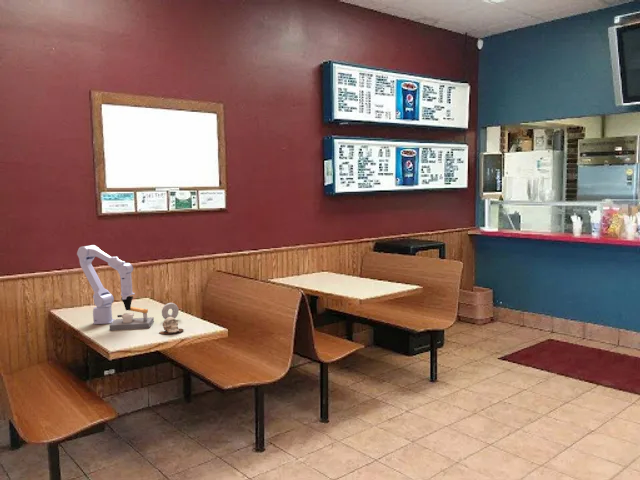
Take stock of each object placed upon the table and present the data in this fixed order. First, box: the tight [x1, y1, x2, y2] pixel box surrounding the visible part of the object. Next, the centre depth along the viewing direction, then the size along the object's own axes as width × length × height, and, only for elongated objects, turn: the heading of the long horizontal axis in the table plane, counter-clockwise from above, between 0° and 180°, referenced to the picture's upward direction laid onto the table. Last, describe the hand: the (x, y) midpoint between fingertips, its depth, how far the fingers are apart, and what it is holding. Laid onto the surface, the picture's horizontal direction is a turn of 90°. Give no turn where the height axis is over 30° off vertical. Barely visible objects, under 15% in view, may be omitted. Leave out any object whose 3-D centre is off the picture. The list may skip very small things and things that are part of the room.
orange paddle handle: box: [128, 306, 149, 314], centre depth 299 cm, size 16×3×2 cm, turn 55°
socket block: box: [109, 313, 155, 331], centre depth 295 cm, size 20×14×7 cm
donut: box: [161, 302, 180, 320], centre depth 305 cm, size 10×4×10 cm, turn 135°
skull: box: [159, 317, 184, 335], centre depth 280 cm, size 12×10×10 cm
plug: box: [116, 312, 135, 323], centre depth 295 cm, size 8×5×6 cm, turn 97°
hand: (128, 310), depth 301 cm, fingers closed, pressing on orange paddle handle
